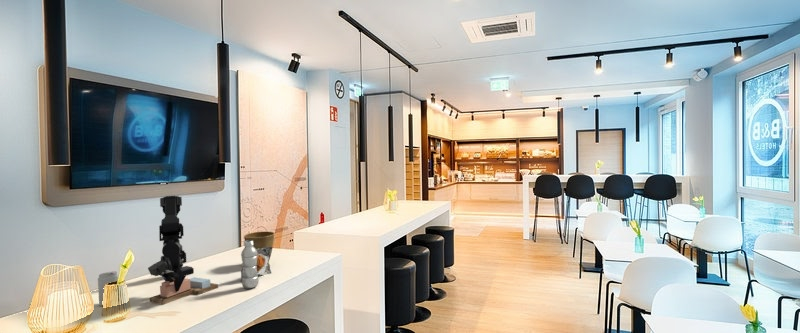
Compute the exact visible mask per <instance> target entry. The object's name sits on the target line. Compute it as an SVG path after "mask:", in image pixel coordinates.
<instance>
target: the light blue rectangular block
mask: <svg viewBox="0 0 800 333" xmlns="http://www.w3.org/2000/svg"><path fill="white" fill-rule="evenodd" d="M189 279H190V287H193V288H198V289H204V288H206V287H209V286H211V284H210V283H211V279H209V278H203V277H202V278H201V277H195V276H193V277H191V278H189Z"/></svg>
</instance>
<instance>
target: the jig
mask: <svg viewBox="0 0 800 333" xmlns="http://www.w3.org/2000/svg"><path fill="white" fill-rule="evenodd" d="M210 284H211V286H209V287H206V288H204V289H198V288H193V287H190V288H191V289H189V290H186V291H183V292H181V293H178V294H175V295H172V296H170V297H162V296H160V293H159V294H157V295H154V296H151V297H149V302H150V303H153V304H159V305H166V304H168V303H169V304H170V303H171V302H174V301H176V300H179V299H182V298H186V297H188V296H191V295H201V294H202V295H203V294H204V293H207V292H210V291H213V290H215V289H218V288H219V284H218V283H214V282H210Z"/></svg>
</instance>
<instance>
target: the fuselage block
mask: <svg viewBox="0 0 800 333" xmlns="http://www.w3.org/2000/svg"><path fill="white" fill-rule="evenodd" d="M189 289H191V288H190V278H185V279H184V280H183V282H182V285H181V287H180V289H179V291H177V292H176V291H175V287H174V282H171V283H170V282H169V281H165V280H164V281H162V282H161V285H160V286H159V291H160V292H159V294H160V296H162V297H164V298H169V297H172V296H175V295H178V294H181V293H184V291H186V290H189Z"/></svg>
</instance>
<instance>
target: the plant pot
mask: <svg viewBox="0 0 800 333" xmlns="http://www.w3.org/2000/svg"><path fill="white" fill-rule="evenodd" d="M243 239H244V241H247V240H253V243H254V245H253V246H254V248H255V249H261V248H267V247H272V249H271V250H270V251H271V255H270V257H269V259H268V263H269V264H270V259H271V256H272V252H273V248H274V242H275V232H273V231H255V232H249V233H246V234H244V235H243Z"/></svg>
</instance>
